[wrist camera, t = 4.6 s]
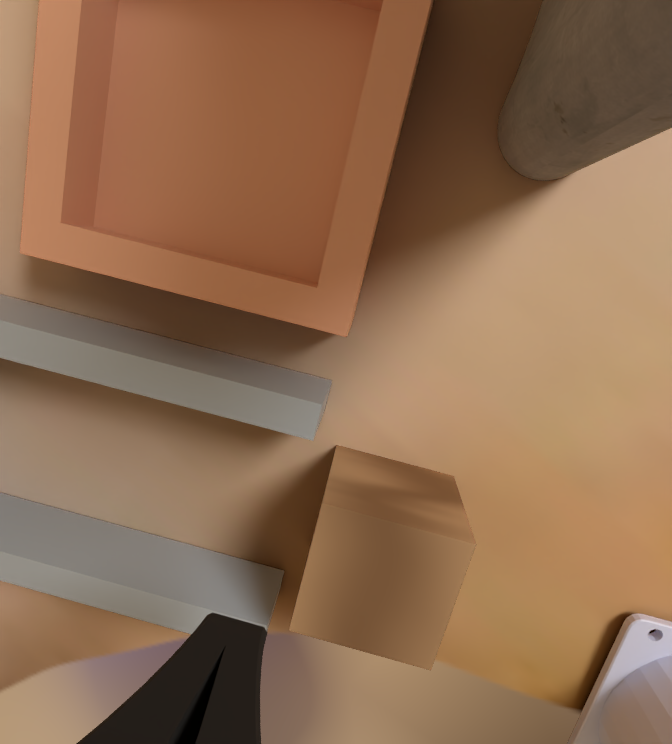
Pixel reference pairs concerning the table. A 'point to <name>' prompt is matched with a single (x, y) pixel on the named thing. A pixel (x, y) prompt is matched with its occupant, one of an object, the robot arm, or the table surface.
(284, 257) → the tray
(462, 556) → the walnut cube
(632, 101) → the hip flask
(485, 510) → the table surface
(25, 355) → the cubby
